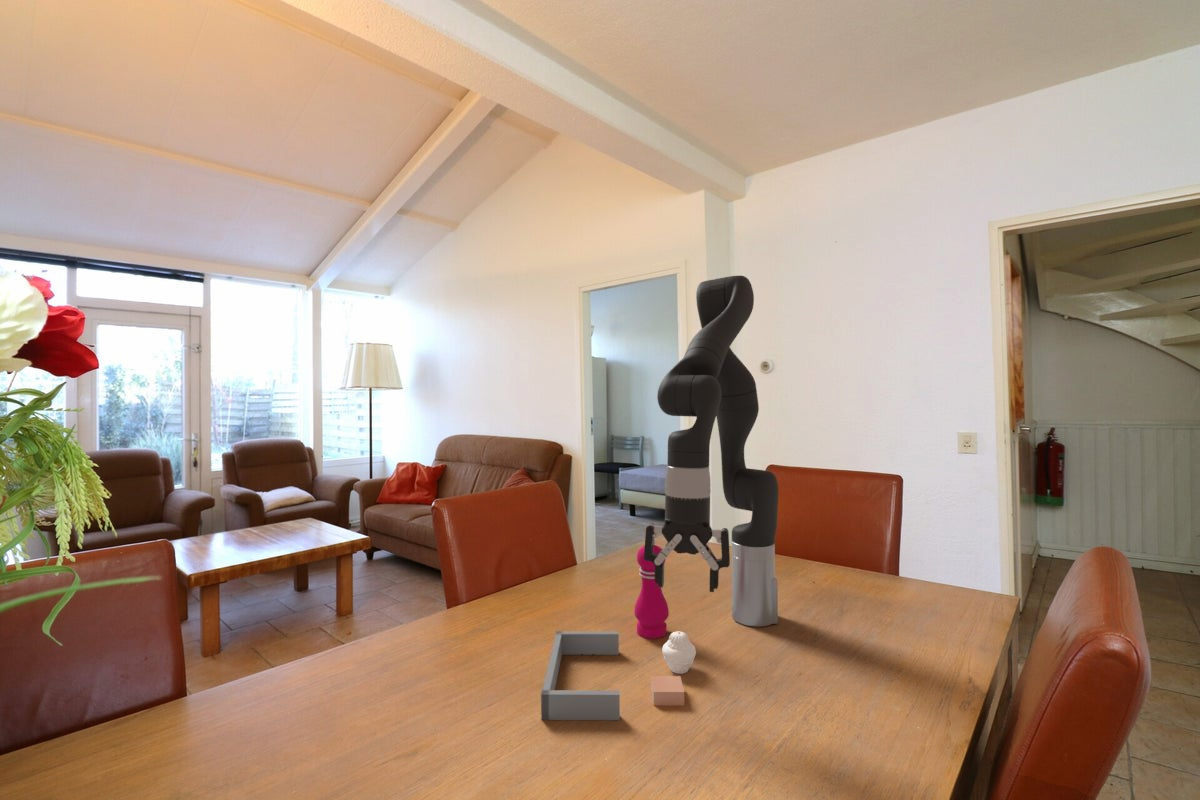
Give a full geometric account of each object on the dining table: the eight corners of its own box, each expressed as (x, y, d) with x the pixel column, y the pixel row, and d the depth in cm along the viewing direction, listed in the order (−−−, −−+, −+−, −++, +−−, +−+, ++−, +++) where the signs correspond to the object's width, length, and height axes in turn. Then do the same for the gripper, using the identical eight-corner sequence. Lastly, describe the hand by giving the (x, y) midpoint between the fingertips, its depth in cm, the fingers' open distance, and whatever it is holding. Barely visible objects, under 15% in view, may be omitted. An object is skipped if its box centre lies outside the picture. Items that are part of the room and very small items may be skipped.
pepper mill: (667, 641, 113) (666, 543, 113) (632, 638, 115) (631, 541, 114) (670, 626, 120) (669, 534, 120) (636, 623, 122) (636, 532, 121)
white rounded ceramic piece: (666, 659, 106) (666, 622, 106) (698, 664, 104) (698, 627, 104) (658, 675, 100) (658, 636, 100) (692, 680, 98) (692, 641, 98)
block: (680, 690, 96) (680, 676, 95) (684, 707, 91) (684, 692, 90) (651, 690, 96) (651, 676, 96) (653, 707, 91) (653, 692, 91)
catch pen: (618, 651, 109) (618, 631, 109) (619, 720, 87) (619, 694, 86) (556, 651, 109) (556, 631, 109) (541, 719, 87) (541, 694, 87)
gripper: (731, 491, 96) (729, 585, 96) (649, 487, 100) (647, 577, 100) (730, 499, 89) (728, 600, 89) (642, 493, 93) (640, 591, 93)
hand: (686, 588), depth 94 cm, fingers open, 8 cm apart
